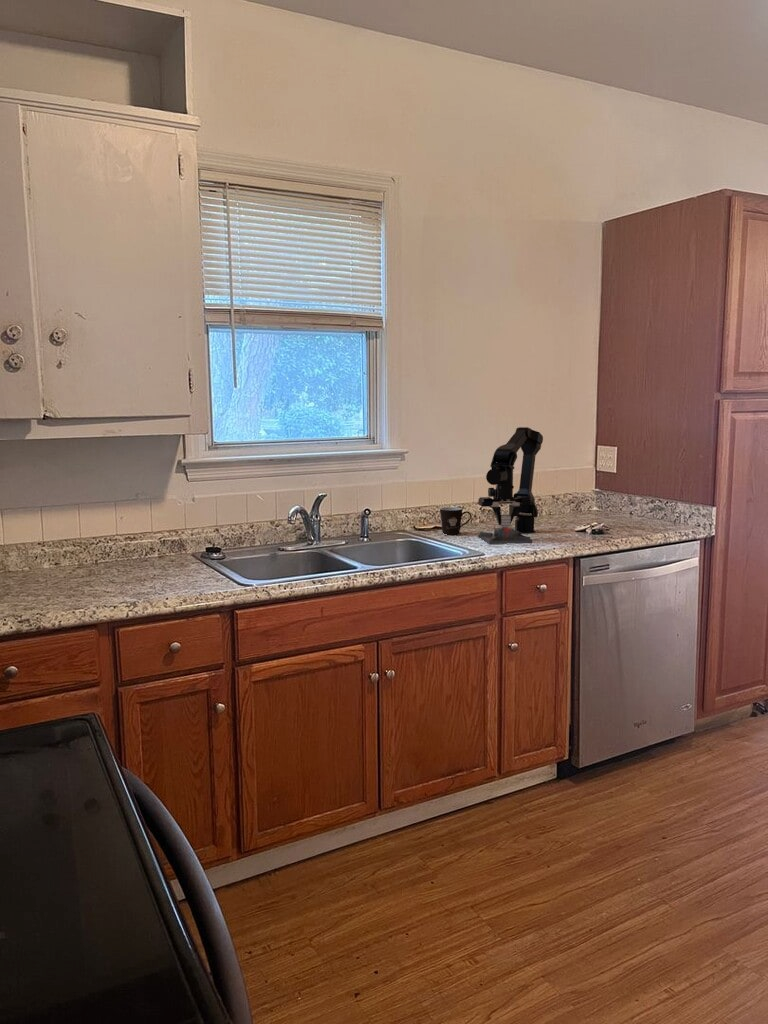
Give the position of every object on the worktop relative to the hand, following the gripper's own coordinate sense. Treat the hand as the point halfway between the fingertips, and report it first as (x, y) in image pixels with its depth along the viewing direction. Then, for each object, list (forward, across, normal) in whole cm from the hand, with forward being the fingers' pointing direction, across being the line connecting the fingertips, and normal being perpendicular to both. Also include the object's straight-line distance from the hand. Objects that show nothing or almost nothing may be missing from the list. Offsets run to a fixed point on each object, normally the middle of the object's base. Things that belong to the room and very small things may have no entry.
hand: (504, 524), depth 287 cm
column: (+4, 0, 0) cm, 4 cm away
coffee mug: (+6, +15, -15) cm, 22 cm away
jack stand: (+6, 0, 0) cm, 6 cm away
